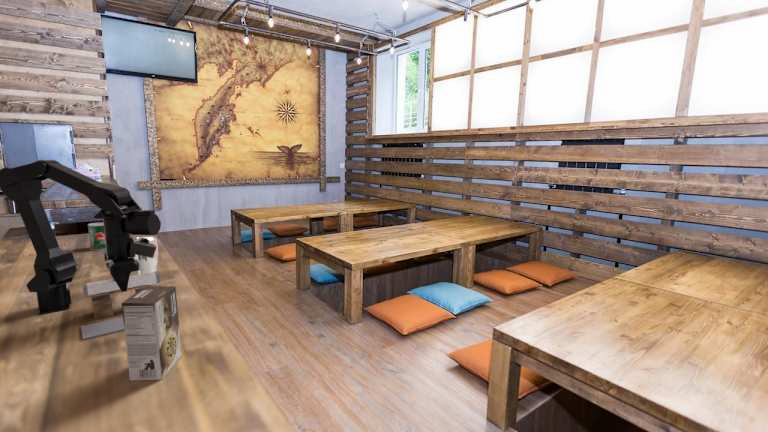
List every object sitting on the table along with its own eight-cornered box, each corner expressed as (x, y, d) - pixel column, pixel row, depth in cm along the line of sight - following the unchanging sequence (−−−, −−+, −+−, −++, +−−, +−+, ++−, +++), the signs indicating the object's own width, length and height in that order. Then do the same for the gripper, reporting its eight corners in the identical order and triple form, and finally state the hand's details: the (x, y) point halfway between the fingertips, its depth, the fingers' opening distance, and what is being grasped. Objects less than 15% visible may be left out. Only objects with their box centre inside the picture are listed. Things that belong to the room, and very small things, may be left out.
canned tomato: (103, 250, 166) (101, 225, 165) (85, 250, 167) (82, 225, 165) (116, 246, 174) (114, 222, 172) (99, 245, 174) (96, 222, 173)
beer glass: (149, 286, 124) (145, 241, 122) (131, 285, 126) (126, 240, 123) (165, 279, 131) (161, 237, 128) (148, 278, 132) (144, 235, 130)
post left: (94, 319, 100) (92, 302, 99) (93, 312, 104) (91, 296, 104) (113, 315, 103) (111, 298, 102) (111, 309, 107) (109, 293, 106)
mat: (82, 340, 89) (82, 338, 89) (81, 328, 95) (80, 326, 95) (177, 317, 102) (177, 316, 102) (170, 307, 108) (170, 306, 108)
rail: (84, 296, 99) (83, 286, 99) (83, 293, 101) (82, 283, 101) (159, 282, 110) (159, 273, 110) (158, 280, 112) (157, 271, 112)
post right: (139, 309, 107) (138, 293, 106) (136, 303, 111) (134, 288, 110) (156, 306, 109) (154, 290, 108) (152, 300, 113) (150, 285, 112)
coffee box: (151, 356, 83) (145, 285, 80) (182, 355, 84) (177, 284, 81) (127, 381, 74) (119, 302, 71) (162, 380, 75) (155, 301, 72)
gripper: (159, 236, 101) (163, 293, 104) (146, 225, 115) (150, 275, 118) (107, 242, 94) (114, 303, 97) (100, 230, 108) (106, 283, 111)
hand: (123, 289), depth 106 cm, fingers closed on rail, 3 cm apart
